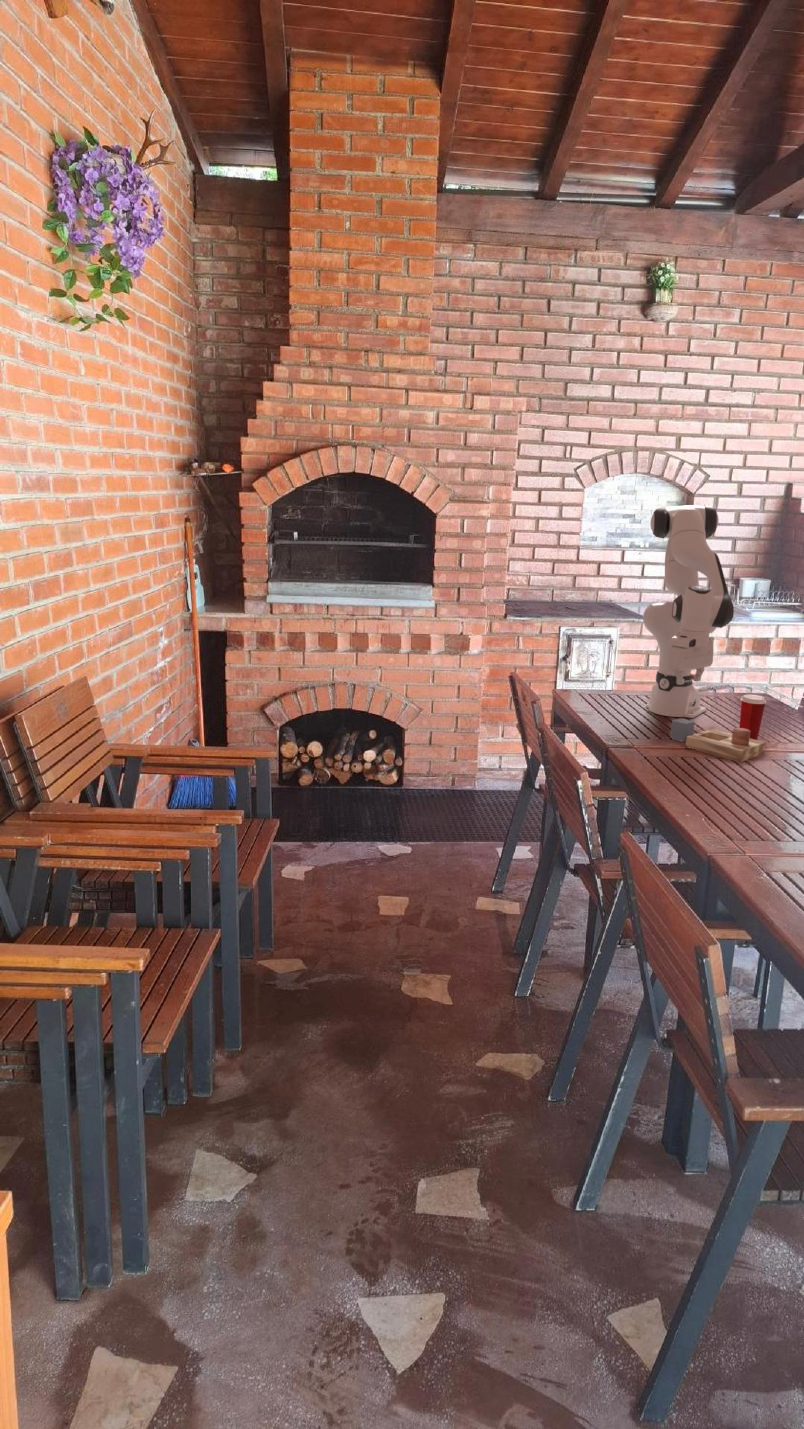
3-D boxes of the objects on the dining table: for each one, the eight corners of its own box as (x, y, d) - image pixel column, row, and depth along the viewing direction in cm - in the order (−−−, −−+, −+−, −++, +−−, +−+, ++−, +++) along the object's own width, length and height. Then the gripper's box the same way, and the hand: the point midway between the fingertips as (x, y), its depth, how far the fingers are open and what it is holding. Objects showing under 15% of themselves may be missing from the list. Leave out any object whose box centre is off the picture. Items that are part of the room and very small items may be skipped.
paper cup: (761, 738, 296) (767, 696, 292) (759, 743, 289) (766, 701, 285) (736, 734, 299) (741, 692, 295) (733, 740, 292) (739, 697, 288)
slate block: (678, 736, 294) (680, 718, 293) (692, 739, 291) (694, 721, 289) (669, 738, 291) (672, 720, 289) (683, 742, 287) (686, 724, 286)
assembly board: (710, 739, 291) (713, 716, 290) (764, 753, 279) (767, 729, 277) (685, 747, 282) (688, 724, 280) (740, 762, 269) (743, 737, 267)
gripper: (702, 635, 291) (697, 677, 294) (666, 639, 278) (661, 684, 281) (720, 638, 286) (715, 681, 290) (684, 642, 273) (679, 688, 276)
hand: (688, 682), depth 285 cm, fingers open, 8 cm apart
